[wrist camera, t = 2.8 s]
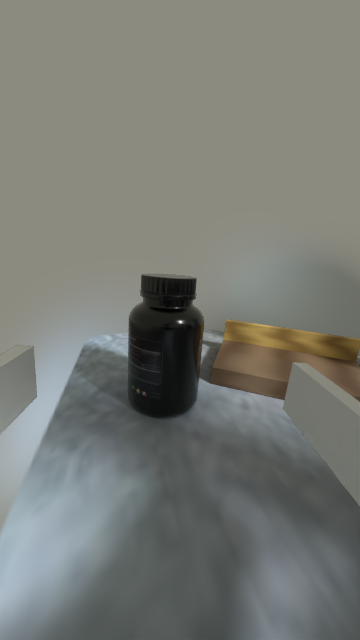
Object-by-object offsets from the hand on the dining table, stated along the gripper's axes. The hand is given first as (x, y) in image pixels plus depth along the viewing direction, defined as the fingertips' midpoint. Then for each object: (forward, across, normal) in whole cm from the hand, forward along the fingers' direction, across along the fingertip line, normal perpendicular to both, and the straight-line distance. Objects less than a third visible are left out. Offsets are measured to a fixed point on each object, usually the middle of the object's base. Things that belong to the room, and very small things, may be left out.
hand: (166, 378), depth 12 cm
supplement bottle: (+10, 0, -8) cm, 12 cm away
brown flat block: (+16, +16, -7) cm, 23 cm away
